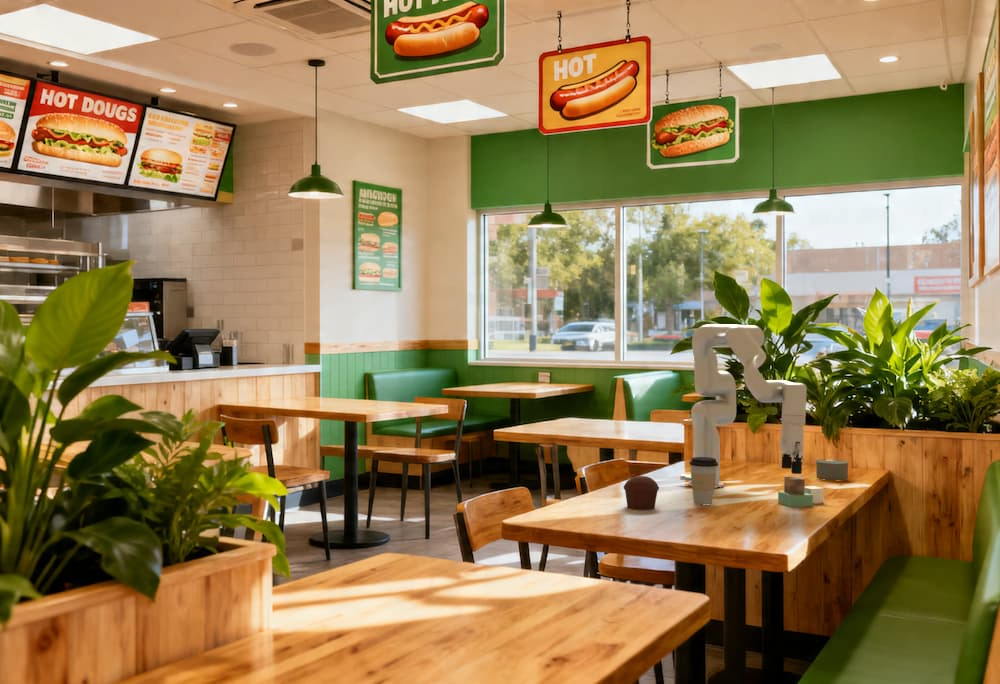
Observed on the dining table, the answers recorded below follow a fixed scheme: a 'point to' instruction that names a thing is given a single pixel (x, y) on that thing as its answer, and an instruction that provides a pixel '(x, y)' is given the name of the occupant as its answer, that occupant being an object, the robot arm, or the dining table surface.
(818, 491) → the cream cube
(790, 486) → the walnut cube
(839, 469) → the can
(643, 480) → the muffin
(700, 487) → the coffee cup
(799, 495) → the green base
